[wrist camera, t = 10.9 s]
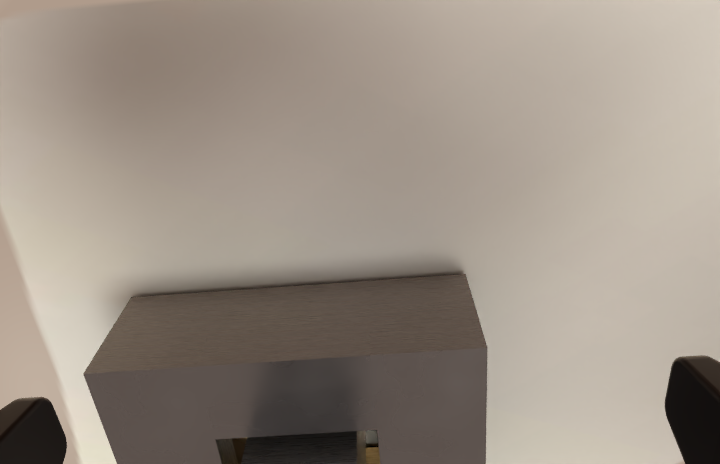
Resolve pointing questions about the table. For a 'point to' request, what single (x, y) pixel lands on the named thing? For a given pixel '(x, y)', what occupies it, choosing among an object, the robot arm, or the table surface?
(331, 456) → the tall square pillar
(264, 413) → the slotted bridge-shaped block
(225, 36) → the table surface
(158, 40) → the table surface
